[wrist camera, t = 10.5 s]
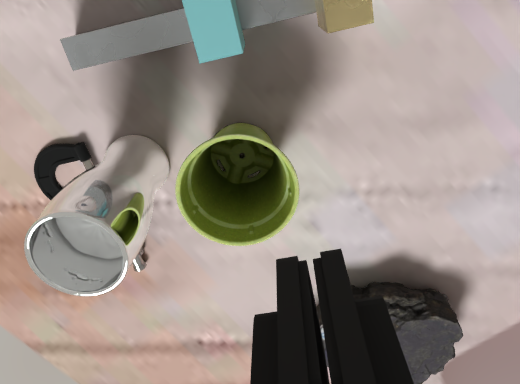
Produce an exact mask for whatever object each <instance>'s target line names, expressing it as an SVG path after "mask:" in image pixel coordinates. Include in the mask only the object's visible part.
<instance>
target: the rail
mask: <svg viewBox="0 0 520 384" xmlns="http://www.w3.org/2000/svg"><path fill="white" fill-rule="evenodd" d="M235 1H236V6H237V10H238V14H239V19H240V23H241V28H242V30H244V29H248V28H253V27H257V26H261V25H265V24H269V23H273V22H277V21H282V20H286V19H290V18H294V17H298V16H302V15H307V14H311V13H315V12H316V6H315V0H235ZM60 41H61V43H62V46H63V48H64V50H65V53H66V55H67V58H68V60H69V62H70V65H71V67H72V70H73V71H74V70H78V69H82V68H87V67H91V66H95V65H99V64H103V63H107V62H111V61H116V60H120V59H124V58H128V57H132V56H136V55H140V54H145V53H149V52H153V51H157V50H161V49H165V48H170V47H174V46H178V45H182V44H186V43H190V42H193V38H192V35H191V31H190V28H189V24H188V20H187V17H186V13H185V10H184V8H181V9H177V10H173V11H169V12H165V13H161V14H157V15H153V16H149V17H145V18H141V19H137V20H133V21H129V22H125V23H121V24H117V25H113V26H109V27H105V28H101V29H97V30H93V31H89V32H85V33H81V34H77V35H74V36H70V37H67V38H63V39H60Z"/></svg>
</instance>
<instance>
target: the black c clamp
mask: <svg viewBox="0 0 520 384" xmlns="http://www.w3.org/2000/svg"><path fill="white" fill-rule="evenodd" d="M78 160H80V161H81V162H83V164H84V166H85V168H86V170H88V169H90V168H91V167H93V166H94V164H93V162H92V160H91V155H90V153H89V151H88V149H87V147H86V145H85V143H84V142H81V143H77V144H76V145H73V144H54V145H51V146H48V147H47V148H45V149H44V150H42V151H41V152H40V153H39V155H38V156H37V158H36V160H35V164H34V174H35V178H36V181H37V183H38V185H39V187H40V189H41V190H42V192H43V193H44V194H45V195H46V196H47V197H48V198H49V199H50V200H52V199H53V198H54V196H55V195H56V194H57V193H58V192H59V191H60V190H61V189H62V187H61V186H60V185H59V184H58V182H57V180H56V178H55V171H56V168H57V167H58V165H61V164H65V163H69V162H73V161H78ZM143 253H144V250H143V248H142V247H141V249H140V251H139V253H138V255H137V256H136V258H135V260H134V261H133V263H132V264H133V268H134V270H135V271H141V270H143V269H144V268H145V267H146V263H145V261H143V258H142V256H141V255H142V254H143Z"/></svg>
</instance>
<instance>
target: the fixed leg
mask: <svg viewBox="0 0 520 384" xmlns="http://www.w3.org/2000/svg"><path fill="white" fill-rule="evenodd" d="M315 6H316V13H317V19H318V26H319V27H320V28H322V29H323V30H324V31H325V32H327V33H332V32H336V31H340V30H345V29H349V28H353V27H357V26H362V25H366V24H370V23H374V18H373V8H372V0H315Z"/></svg>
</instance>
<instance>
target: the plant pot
mask: <svg viewBox="0 0 520 384" xmlns="http://www.w3.org/2000/svg"><path fill="white" fill-rule="evenodd" d="M264 146H266V147H268V149H267V150H266V149H265V147H264ZM241 153H244V155H245V157H244V158H241V157H240V154H241ZM218 159H219V160H220V162H221V164H222V166H223V167H224V168H225V170H226V171H222V170H221V168H220V167H219V166H218V163H217V160H218ZM259 170H260V173H259V174H258V175H256V176H255V177H252V178H248V175H250V174H253V173H255V172H258V171H259ZM175 193H176V200H177V204H178V207H179V209H180V211H181V213H182V215H183V217H184V218H185V220H186V221H187V222H188V224H189V225H190V226H191V227H192V228H193V229H194V230H196V231H197V232H198V233H200V234H201V235H203V236H204V237H206V238H208V239H210V240H212V241H215V242H217V243H221V244H225V245H232V246H246V245H252V244H256V243H260V242H263V241H265V240H267V239H269V238H271V237H273V236H274V235H276V234H277V233H279V232H280V231H281V230H282V229H283V228H284V227H285V226H286V225H287V223H288V222H289V221H290V220H291V218H292V216H293V215H294V213H295V210H296V207H297V204H298V200H299V183H298V178H297V175H296V172H295V170H294V168H293V166H292V164H291V162H290V161H289V159H288V158H287V157H286V156H285V154H284V153H283V152H282V151H281V150H279V149H278V148H277V147H276V146H274V145H273V143H272V141H271V139H270V137H269V136H268V135H267V134H266V133H265V132H264V131H263V130H262V129H260V128H259V127H256V126H254V125H250V124H246V123H236V124H231V125H229V126H226V127H225V128H223V129H222V130H220V131H219V132H218V133H217V134H216V135H215V137H214V138H212V139H210V140H208V141H206V142H204V143H202V144H201V145H199V146H198V147H197V148H196V149H194V150H193V151H192V152H191V153H190V154H189V156H188V157H187V158H186V159H185V161H184V162H183V164H182V166H181V168H180V170H179V173H178V176H177V179H176V187H175Z"/></svg>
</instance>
